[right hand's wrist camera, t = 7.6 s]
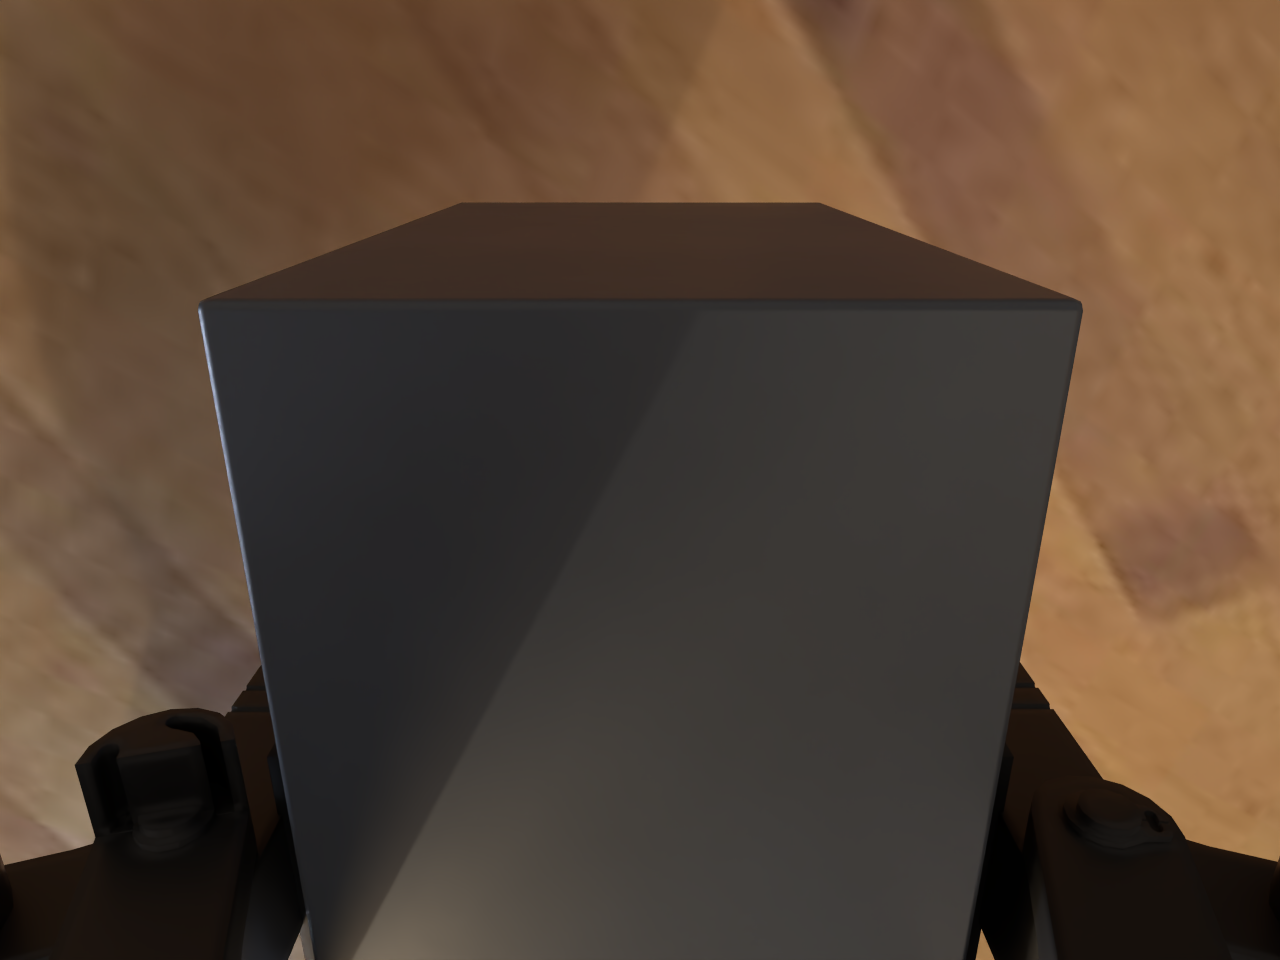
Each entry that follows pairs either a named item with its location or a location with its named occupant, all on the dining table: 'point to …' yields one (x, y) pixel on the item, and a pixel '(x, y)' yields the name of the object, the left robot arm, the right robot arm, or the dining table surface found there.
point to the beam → (640, 575)
